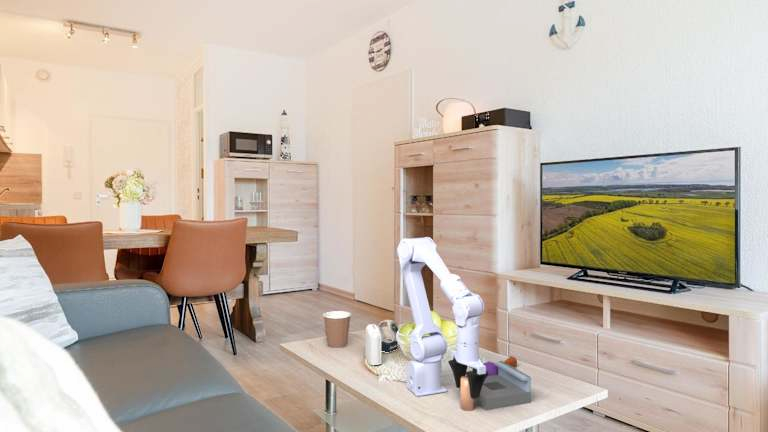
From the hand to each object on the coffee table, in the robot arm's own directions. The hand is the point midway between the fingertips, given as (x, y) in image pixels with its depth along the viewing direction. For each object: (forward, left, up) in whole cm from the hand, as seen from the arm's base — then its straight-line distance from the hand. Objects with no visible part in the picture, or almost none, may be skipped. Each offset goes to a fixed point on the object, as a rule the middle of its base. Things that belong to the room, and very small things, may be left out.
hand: (467, 392), depth 133 cm
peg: (0, 0, -4) cm, 4 cm away
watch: (-2, +52, -5) cm, 52 cm away
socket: (+11, +4, -4) cm, 12 cm away
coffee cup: (-18, +63, -5) cm, 66 cm away
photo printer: (-11, +43, -5) cm, 45 cm away
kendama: (+22, +18, -5) cm, 29 cm away
